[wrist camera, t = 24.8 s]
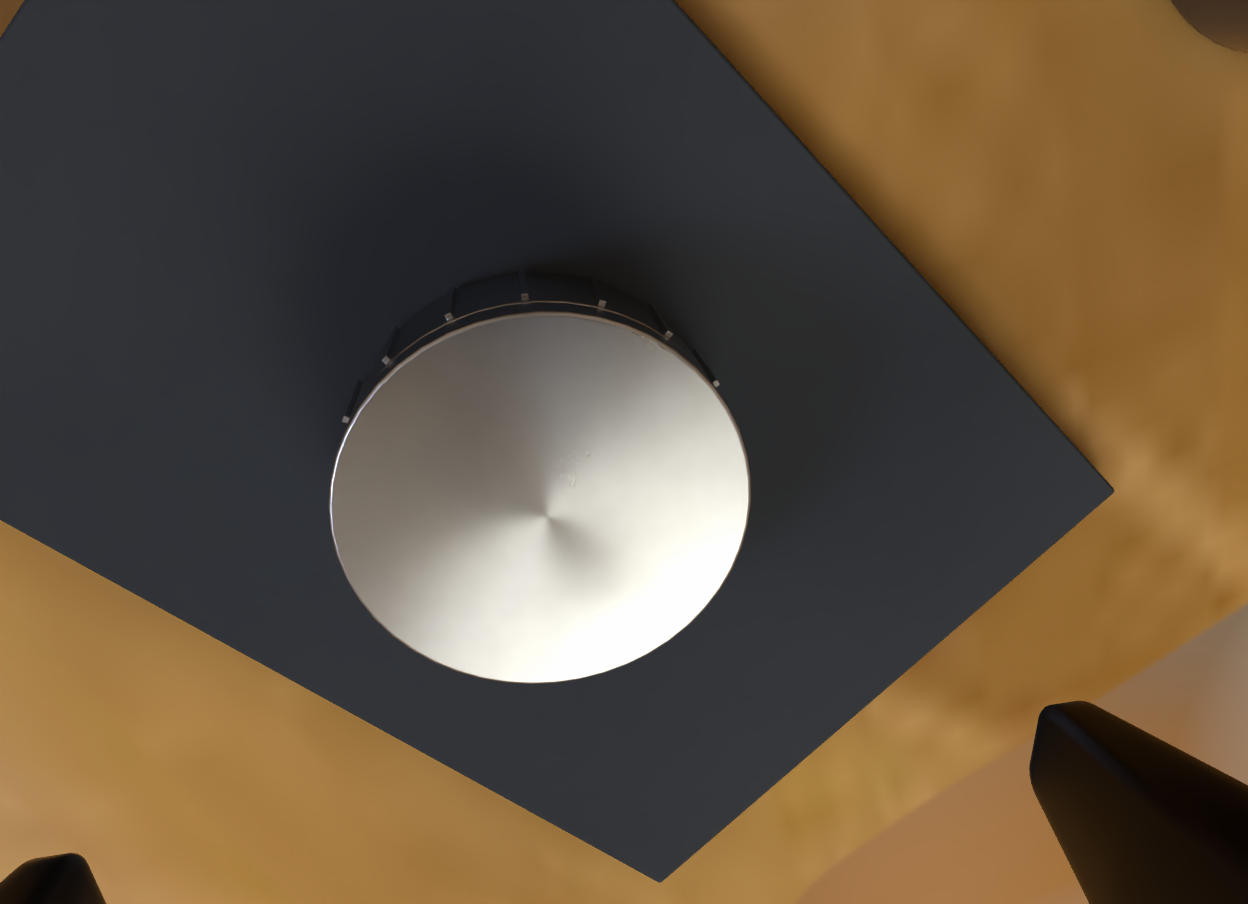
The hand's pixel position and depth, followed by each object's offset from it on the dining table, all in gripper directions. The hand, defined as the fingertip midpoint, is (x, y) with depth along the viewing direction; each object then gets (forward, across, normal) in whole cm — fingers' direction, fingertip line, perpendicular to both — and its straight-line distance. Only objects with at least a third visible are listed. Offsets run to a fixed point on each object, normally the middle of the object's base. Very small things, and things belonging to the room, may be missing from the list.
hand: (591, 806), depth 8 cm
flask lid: (+7, 0, 0) cm, 7 cm away
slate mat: (+9, 0, 0) cm, 9 cm away
